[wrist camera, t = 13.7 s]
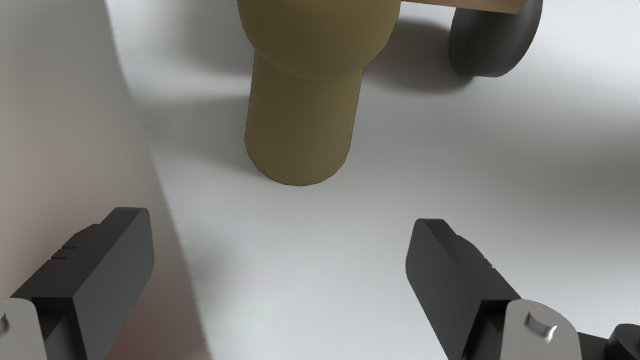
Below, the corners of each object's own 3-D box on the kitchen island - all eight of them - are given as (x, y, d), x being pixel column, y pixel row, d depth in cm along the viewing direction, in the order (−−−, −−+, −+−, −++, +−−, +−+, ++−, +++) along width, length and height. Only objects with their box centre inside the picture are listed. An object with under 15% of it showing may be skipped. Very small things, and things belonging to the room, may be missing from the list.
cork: (317, 206, 18) (376, 70, 8) (222, 150, 19) (163, -45, 8) (366, 124, 20) (461, -62, 10) (281, 76, 21) (290, -148, 11)
